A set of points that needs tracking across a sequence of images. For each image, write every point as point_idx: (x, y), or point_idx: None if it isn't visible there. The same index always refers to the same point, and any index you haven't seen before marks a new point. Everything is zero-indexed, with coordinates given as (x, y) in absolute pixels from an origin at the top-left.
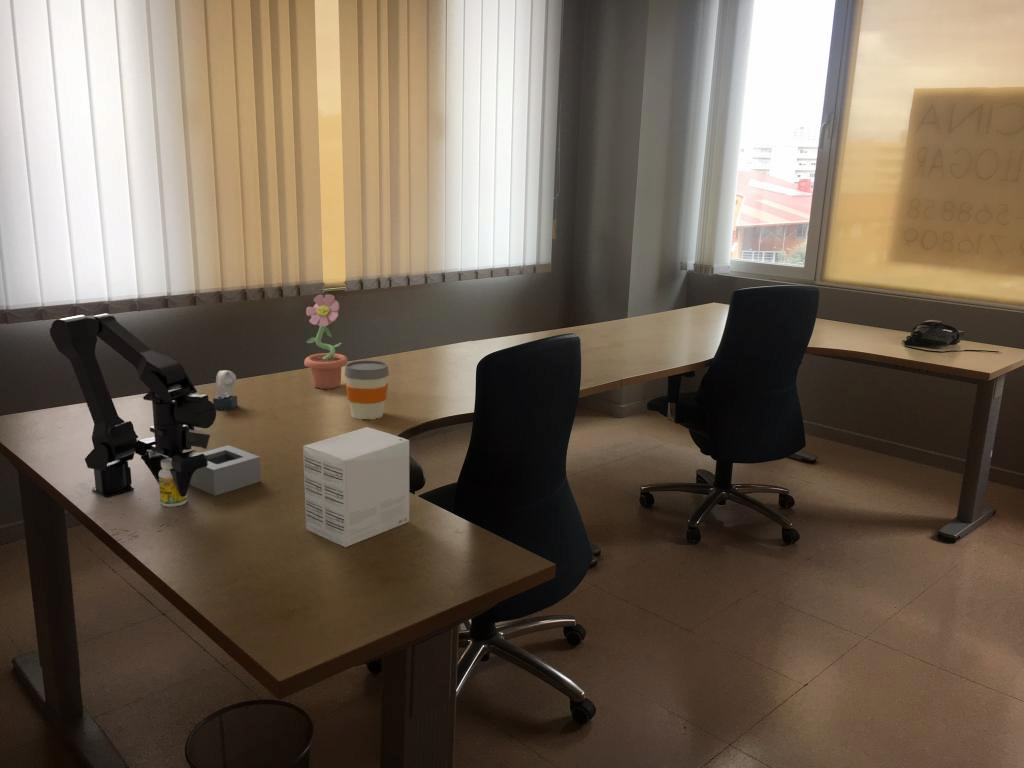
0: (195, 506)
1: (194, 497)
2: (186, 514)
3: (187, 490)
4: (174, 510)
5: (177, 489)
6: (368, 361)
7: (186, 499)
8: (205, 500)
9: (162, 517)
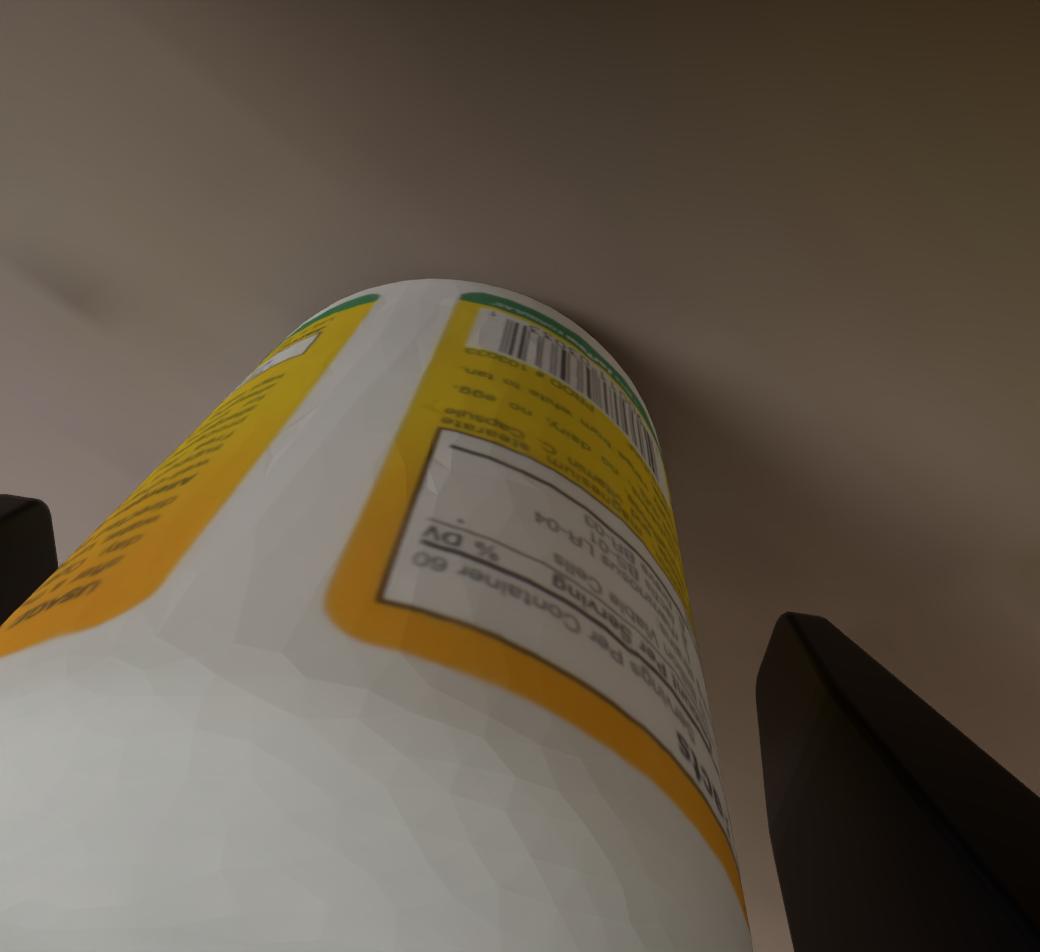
0: (887, 402)
1: (539, 97)
2: (968, 665)
3: (903, 685)
4: (699, 653)
5: (782, 877)
6: None
7: (644, 409)
8: (864, 82)
9: (738, 839)
